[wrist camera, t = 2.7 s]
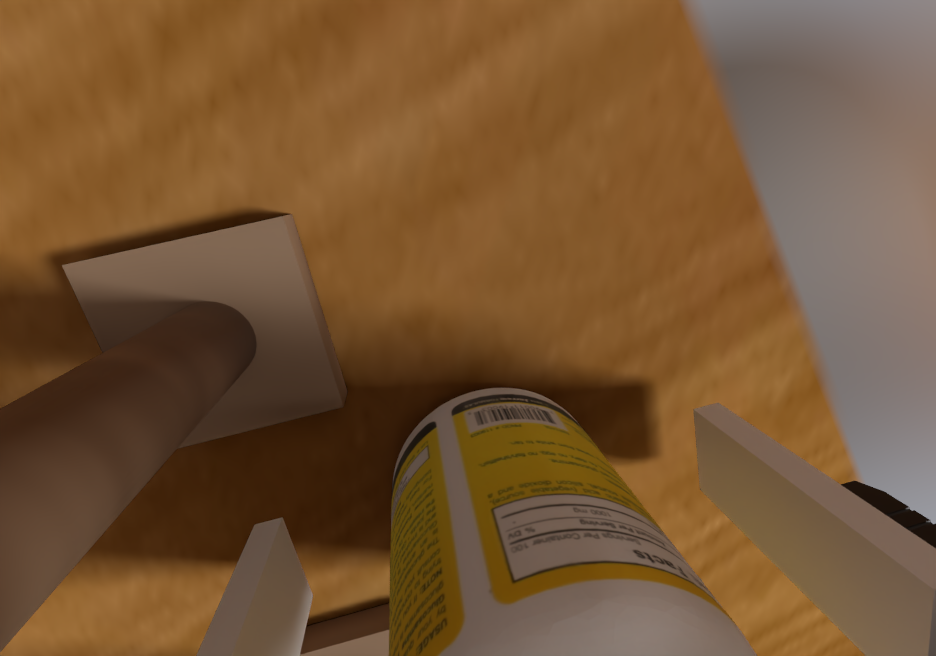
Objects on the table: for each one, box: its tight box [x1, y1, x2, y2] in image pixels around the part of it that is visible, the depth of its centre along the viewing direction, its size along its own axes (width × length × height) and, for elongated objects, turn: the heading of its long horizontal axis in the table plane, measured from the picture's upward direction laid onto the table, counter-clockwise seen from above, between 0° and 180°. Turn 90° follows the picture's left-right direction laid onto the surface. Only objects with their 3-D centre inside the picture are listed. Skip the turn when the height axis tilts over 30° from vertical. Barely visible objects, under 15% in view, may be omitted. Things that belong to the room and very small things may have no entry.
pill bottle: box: [389, 388, 757, 656], centre depth 10 cm, size 6×6×11 cm
